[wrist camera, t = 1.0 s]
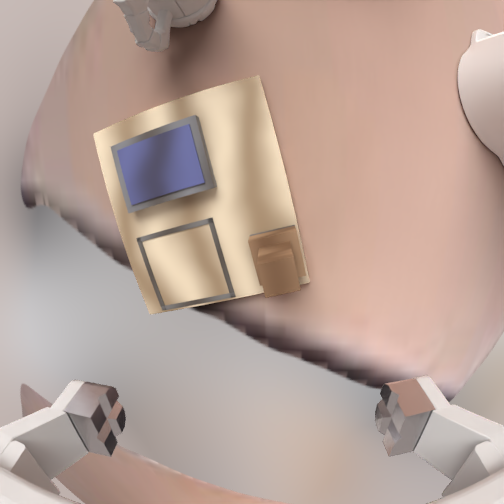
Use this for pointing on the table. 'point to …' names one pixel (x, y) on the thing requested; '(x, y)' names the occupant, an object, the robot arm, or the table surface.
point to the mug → (162, 18)
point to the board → (197, 193)
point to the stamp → (277, 260)
